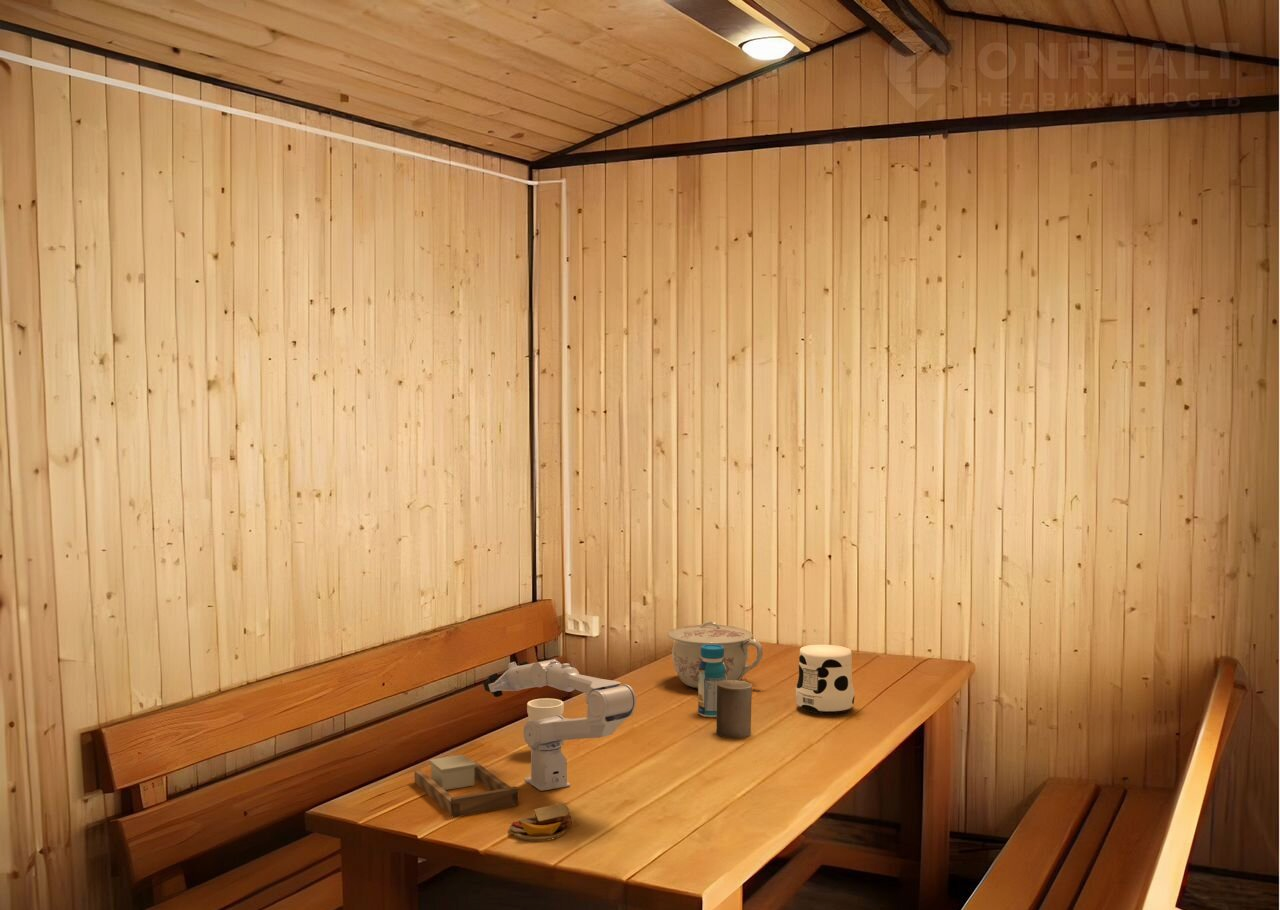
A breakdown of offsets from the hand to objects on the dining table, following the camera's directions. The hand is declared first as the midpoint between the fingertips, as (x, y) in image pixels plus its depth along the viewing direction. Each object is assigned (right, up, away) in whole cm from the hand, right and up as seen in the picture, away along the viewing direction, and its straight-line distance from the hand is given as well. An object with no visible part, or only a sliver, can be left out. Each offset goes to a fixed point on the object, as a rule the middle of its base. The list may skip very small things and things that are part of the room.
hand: (497, 681), depth 301 cm
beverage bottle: (+57, -19, +46) cm, 76 cm away
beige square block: (-9, -21, -16) cm, 28 cm away
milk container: (+91, -18, +51) cm, 106 cm away
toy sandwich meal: (+15, -24, -46) cm, 54 cm away
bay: (-5, -22, -24) cm, 32 cm away
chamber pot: (+59, -17, +80) cm, 100 cm away
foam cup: (+11, -20, +9) cm, 25 cm away
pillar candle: (+62, -20, +27) cm, 70 cm away
